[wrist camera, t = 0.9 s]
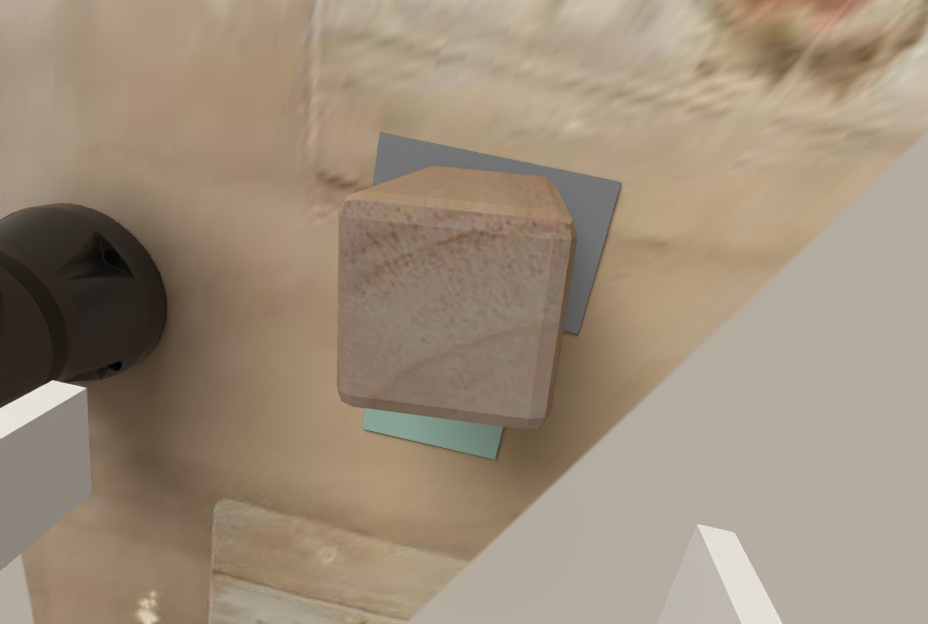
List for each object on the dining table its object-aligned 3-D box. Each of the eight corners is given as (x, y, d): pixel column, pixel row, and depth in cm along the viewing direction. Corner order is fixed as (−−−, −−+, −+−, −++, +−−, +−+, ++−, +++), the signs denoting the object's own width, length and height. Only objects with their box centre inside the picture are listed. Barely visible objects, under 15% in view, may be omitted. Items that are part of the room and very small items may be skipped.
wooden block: (539, 306, 43) (548, 442, 24) (414, 292, 44) (329, 412, 25) (557, 176, 40) (583, 216, 21) (422, 163, 41) (331, 190, 22)
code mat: (360, 284, 45) (359, 285, 44) (381, 132, 41) (379, 132, 40) (578, 332, 44) (578, 334, 44) (620, 182, 40) (621, 182, 40)
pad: (363, 427, 49) (362, 428, 49) (382, 301, 45) (381, 302, 45) (495, 457, 48) (495, 459, 48) (526, 333, 44) (526, 334, 44)
